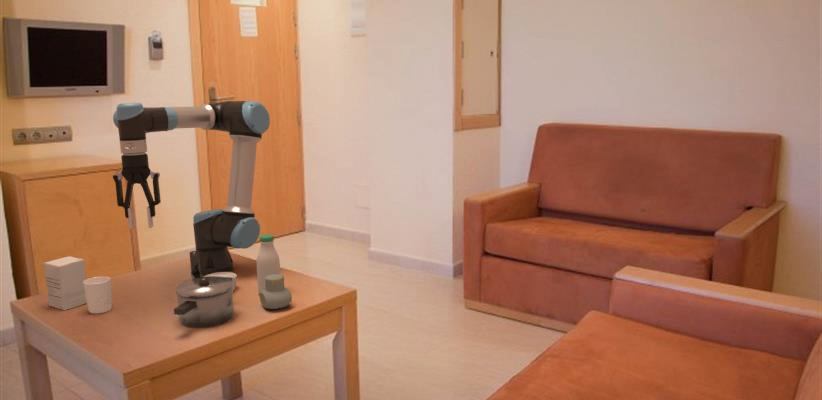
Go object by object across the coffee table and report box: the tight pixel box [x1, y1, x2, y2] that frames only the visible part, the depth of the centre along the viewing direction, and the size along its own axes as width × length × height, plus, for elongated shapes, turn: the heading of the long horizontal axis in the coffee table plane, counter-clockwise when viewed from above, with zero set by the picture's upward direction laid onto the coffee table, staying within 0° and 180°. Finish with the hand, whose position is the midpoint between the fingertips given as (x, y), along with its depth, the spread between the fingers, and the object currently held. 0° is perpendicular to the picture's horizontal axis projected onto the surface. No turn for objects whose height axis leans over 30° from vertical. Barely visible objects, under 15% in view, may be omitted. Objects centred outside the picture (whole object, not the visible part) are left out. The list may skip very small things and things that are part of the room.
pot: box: [173, 277, 235, 329], centre depth 200 cm, size 30×16×9 cm, turn 168°
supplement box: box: [42, 255, 88, 311], centre depth 214 cm, size 9×9×15 cm
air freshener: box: [259, 273, 293, 310], centre depth 209 cm, size 11×8×10 cm
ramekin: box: [204, 271, 238, 292], centre depth 226 cm, size 11×11×5 cm
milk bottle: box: [256, 234, 282, 295], centre depth 221 cm, size 8×8×20 cm
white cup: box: [83, 276, 113, 314], centre depth 209 cm, size 8×8×10 cm
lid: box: [175, 250, 233, 298], centre depth 201 cm, size 24×17×8 cm
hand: (141, 227), depth 205 cm, fingers open, 5 cm apart
